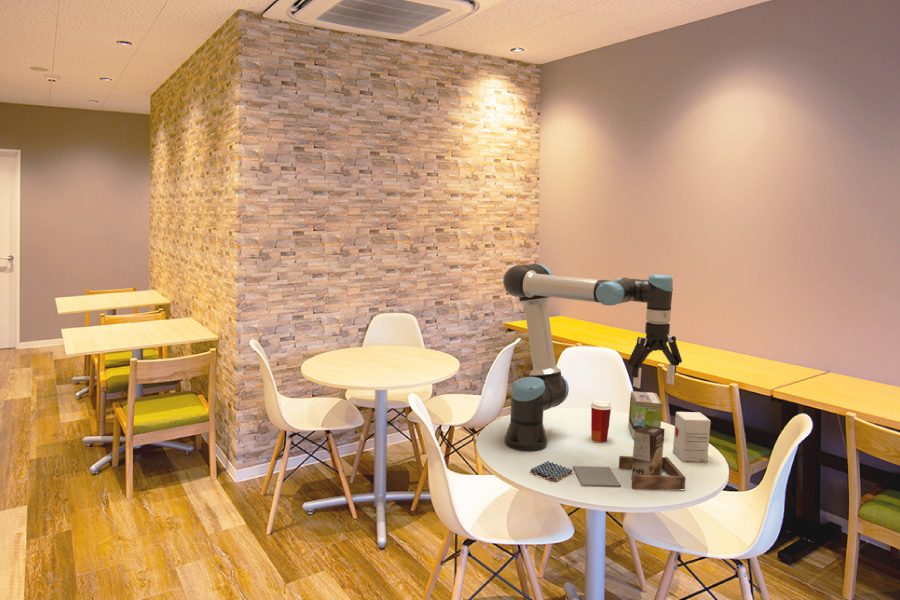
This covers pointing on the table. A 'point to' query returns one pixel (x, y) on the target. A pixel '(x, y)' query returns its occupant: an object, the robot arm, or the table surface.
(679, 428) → the supplement box
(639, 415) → the tea box
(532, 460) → the table surface
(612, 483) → the slate mat
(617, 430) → the table surface
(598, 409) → the paper cup
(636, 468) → the coffee box
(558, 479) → the woven mat
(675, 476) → the frame
